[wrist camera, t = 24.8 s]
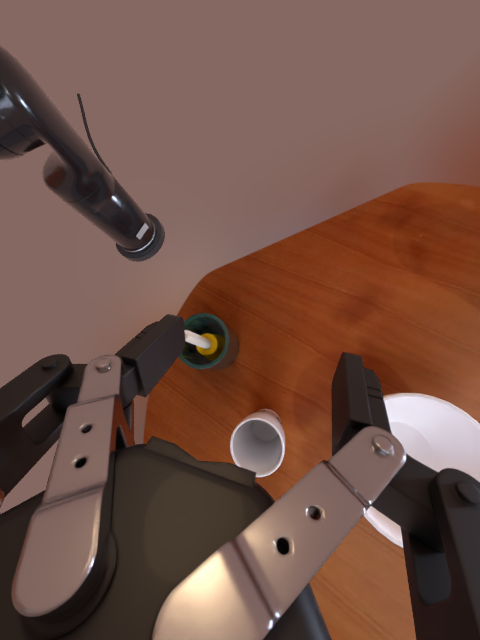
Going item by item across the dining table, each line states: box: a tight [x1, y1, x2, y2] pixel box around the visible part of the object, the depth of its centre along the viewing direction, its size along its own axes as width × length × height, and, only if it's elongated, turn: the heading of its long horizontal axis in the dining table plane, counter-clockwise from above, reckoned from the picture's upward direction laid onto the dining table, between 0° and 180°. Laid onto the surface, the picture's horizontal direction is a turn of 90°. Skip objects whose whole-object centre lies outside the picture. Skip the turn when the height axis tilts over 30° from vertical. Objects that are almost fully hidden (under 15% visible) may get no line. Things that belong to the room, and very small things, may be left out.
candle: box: [184, 330, 226, 361], centre depth 40 cm, size 5×5×16 cm
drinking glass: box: [230, 409, 285, 477], centre depth 36 cm, size 7×7×15 cm
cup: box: [179, 313, 239, 371], centre depth 44 cm, size 9×9×9 cm
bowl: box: [364, 393, 480, 547], centre depth 35 cm, size 20×20×7 cm
